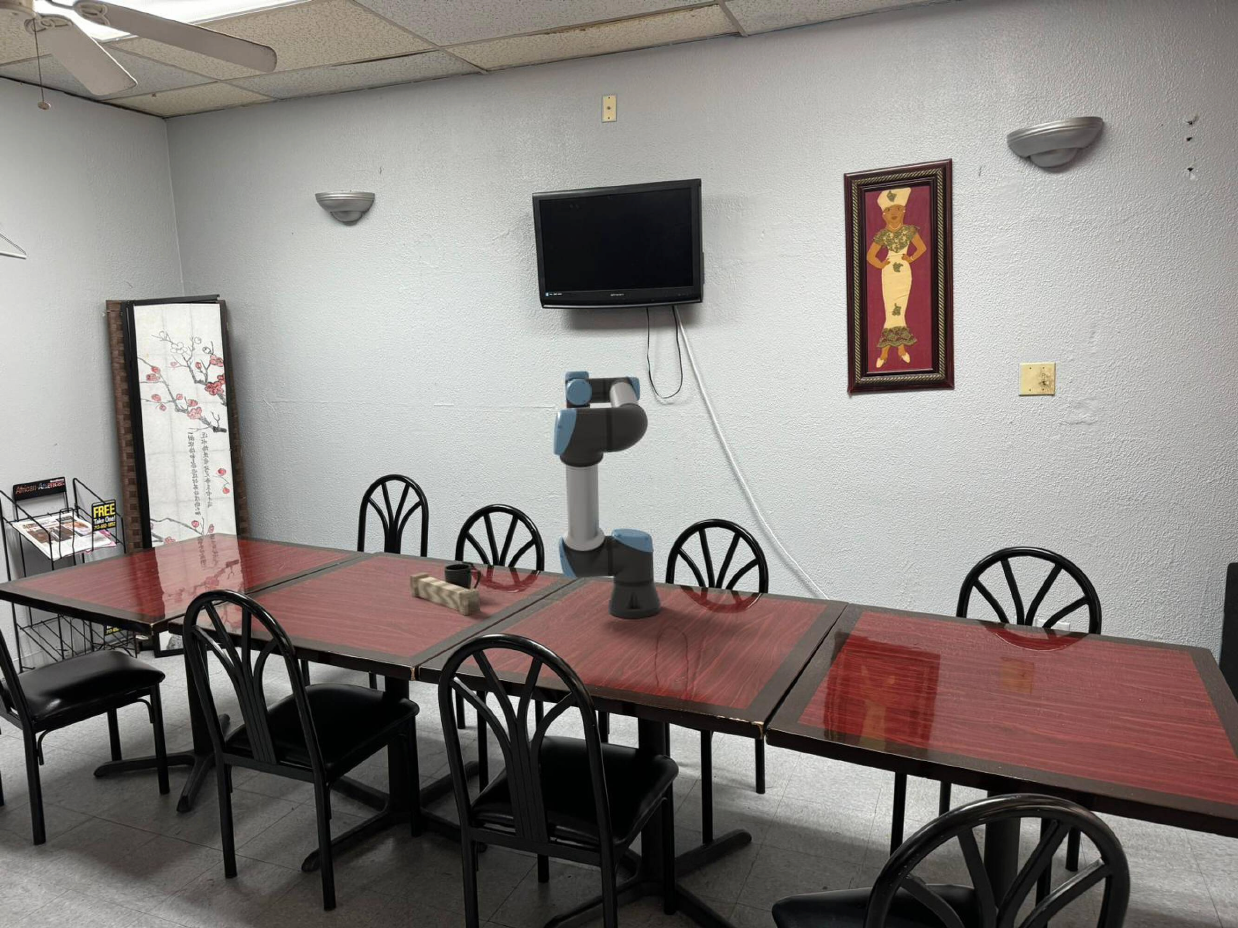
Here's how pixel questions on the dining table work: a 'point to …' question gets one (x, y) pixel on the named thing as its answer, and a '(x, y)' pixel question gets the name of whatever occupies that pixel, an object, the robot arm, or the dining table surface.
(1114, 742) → the dining table surface
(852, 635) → the dining table surface
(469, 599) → the batten
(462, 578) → the mug
